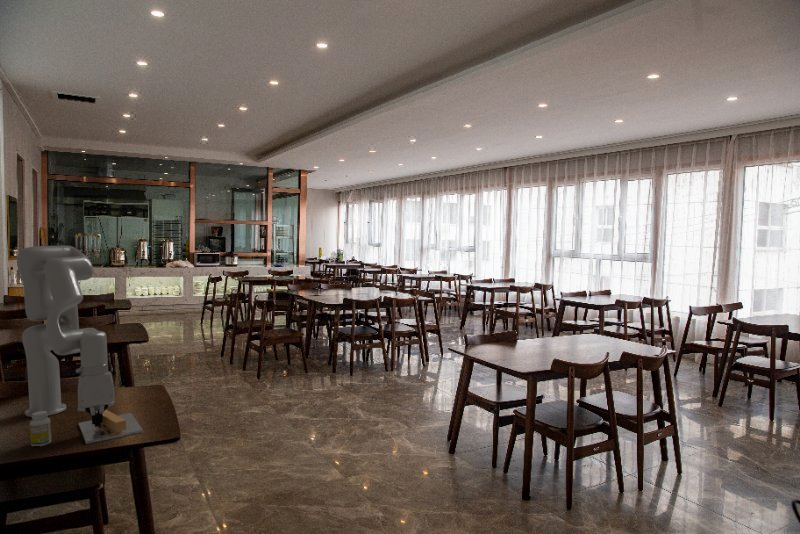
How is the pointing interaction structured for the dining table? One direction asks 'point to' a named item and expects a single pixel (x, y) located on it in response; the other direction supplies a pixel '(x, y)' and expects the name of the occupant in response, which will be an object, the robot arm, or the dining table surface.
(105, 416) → the swing bar
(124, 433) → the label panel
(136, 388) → the dining table surface
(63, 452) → the dining table surface
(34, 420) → the supplement bottle
